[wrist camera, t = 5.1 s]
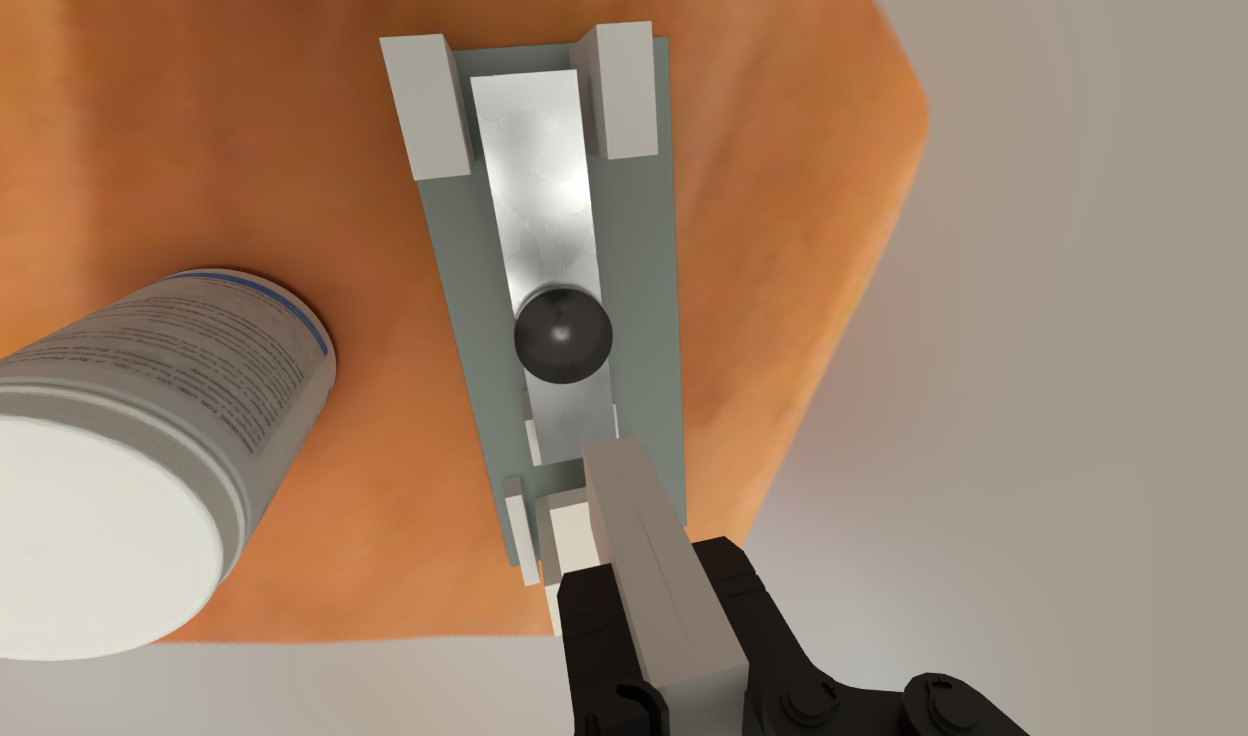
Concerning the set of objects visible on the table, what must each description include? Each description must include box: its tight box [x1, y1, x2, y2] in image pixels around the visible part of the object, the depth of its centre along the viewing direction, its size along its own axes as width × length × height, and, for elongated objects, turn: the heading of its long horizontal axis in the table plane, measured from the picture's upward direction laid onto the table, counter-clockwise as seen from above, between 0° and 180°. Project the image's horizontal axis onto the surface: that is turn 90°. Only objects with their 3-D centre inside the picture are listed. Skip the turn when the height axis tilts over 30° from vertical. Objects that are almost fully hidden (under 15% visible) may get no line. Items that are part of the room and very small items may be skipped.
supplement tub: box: [0, 269, 336, 661], centre depth 21 cm, size 10×10×15 cm
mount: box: [379, 21, 687, 586], centre depth 28 cm, size 31×13×8 cm, turn 5°
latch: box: [534, 487, 600, 637], centre depth 32 cm, size 9×6×8 cm, turn 5°
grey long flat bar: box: [470, 69, 617, 466], centre depth 24 cm, size 18×4×2 cm, turn 5°
